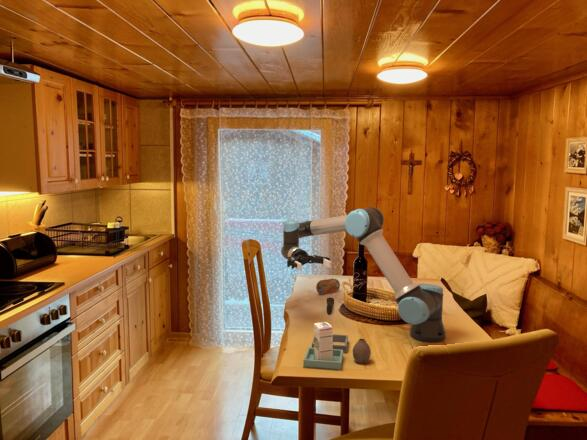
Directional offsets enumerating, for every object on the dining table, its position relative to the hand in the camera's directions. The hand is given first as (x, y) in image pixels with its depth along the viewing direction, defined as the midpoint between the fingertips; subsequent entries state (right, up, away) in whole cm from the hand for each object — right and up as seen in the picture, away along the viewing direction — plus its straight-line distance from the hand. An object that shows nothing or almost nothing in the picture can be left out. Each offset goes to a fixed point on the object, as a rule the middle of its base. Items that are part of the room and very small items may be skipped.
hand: (315, 266), depth 205 cm
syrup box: (+2, -35, -21) cm, 40 cm away
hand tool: (+10, -27, +44) cm, 52 cm away
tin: (+10, -23, +73) cm, 77 cm away
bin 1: (+6, -33, -5) cm, 34 cm away
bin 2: (+2, -35, -20) cm, 41 cm away
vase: (+17, -35, -20) cm, 44 cm away
